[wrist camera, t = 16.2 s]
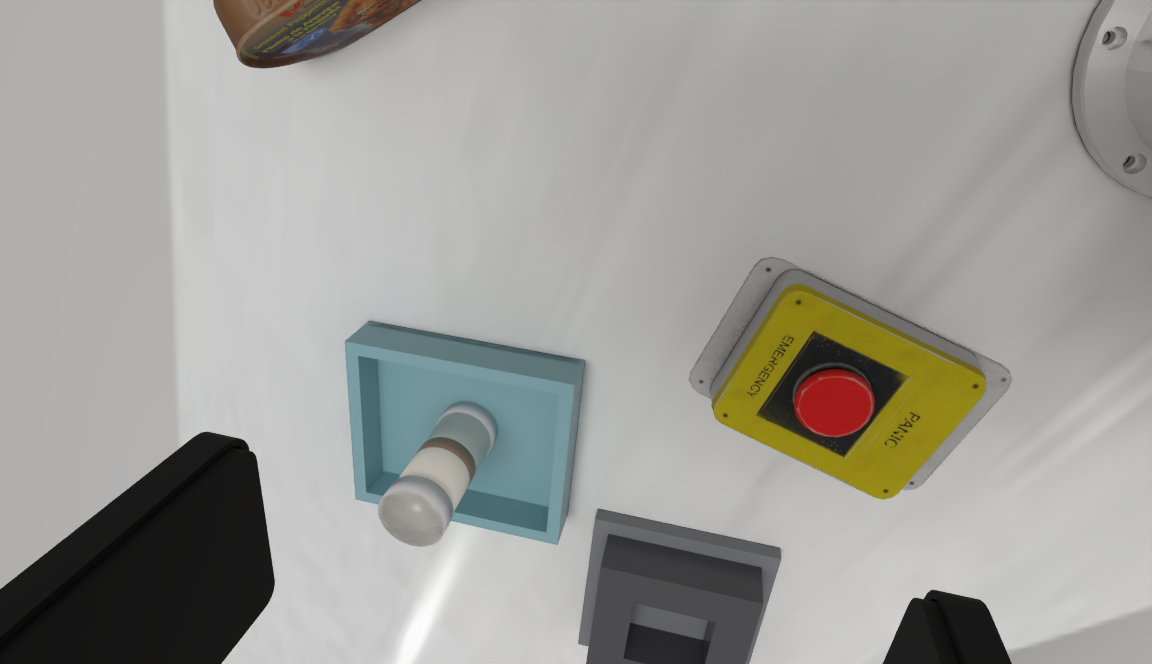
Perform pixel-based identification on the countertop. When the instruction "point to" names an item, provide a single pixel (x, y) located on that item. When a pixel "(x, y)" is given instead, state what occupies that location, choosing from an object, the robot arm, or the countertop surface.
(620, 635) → the fuse panel
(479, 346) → the parts tray
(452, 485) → the fuse
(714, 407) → the emergency button
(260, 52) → the tin
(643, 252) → the countertop surface
